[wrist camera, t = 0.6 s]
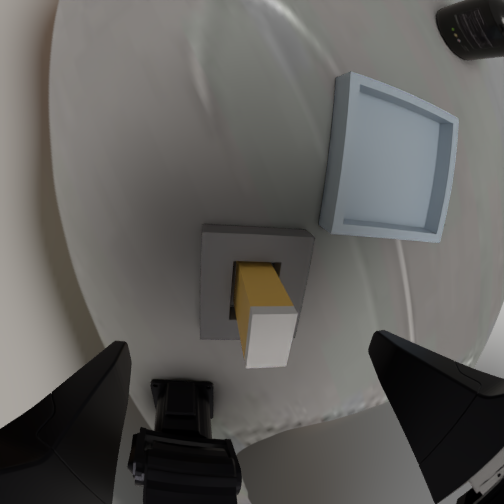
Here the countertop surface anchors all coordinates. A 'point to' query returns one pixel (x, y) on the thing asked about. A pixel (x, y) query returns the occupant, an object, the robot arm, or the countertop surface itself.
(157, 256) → the countertop surface
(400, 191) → the parts tray
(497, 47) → the supplement bottle
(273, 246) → the block
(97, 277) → the countertop surface
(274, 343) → the block
